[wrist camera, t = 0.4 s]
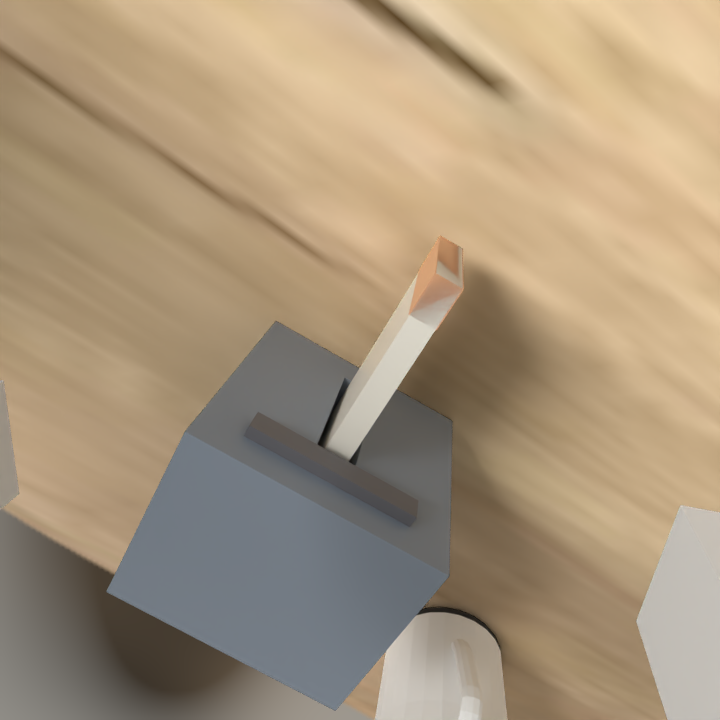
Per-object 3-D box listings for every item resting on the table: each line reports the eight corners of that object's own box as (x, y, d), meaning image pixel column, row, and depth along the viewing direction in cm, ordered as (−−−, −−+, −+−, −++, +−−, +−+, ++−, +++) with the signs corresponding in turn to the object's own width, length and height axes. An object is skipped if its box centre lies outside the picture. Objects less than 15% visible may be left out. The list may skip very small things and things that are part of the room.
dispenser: (211, 444, 40) (106, 591, 28) (280, 312, 35) (190, 420, 24) (371, 532, 41) (335, 710, 29) (457, 413, 36) (457, 566, 24)
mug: (483, 707, 45) (490, 865, 36) (368, 672, 46) (345, 820, 36) (535, 601, 41) (558, 751, 31) (407, 563, 41) (392, 700, 32)
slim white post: (283, 489, 37) (247, 570, 31) (440, 235, 30) (435, 272, 24) (302, 500, 37) (270, 582, 31) (462, 248, 30) (463, 289, 24)
